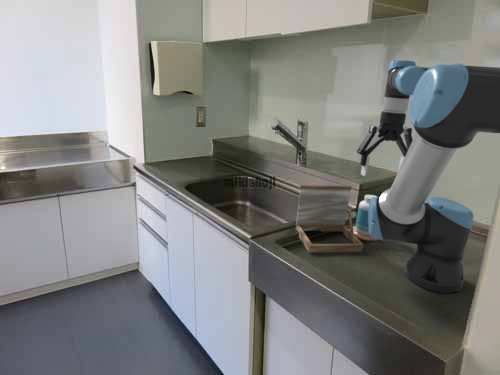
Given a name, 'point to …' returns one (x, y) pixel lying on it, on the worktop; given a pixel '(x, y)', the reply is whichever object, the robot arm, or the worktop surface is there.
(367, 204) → the pill bottle
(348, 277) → the worktop surface
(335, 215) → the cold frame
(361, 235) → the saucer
